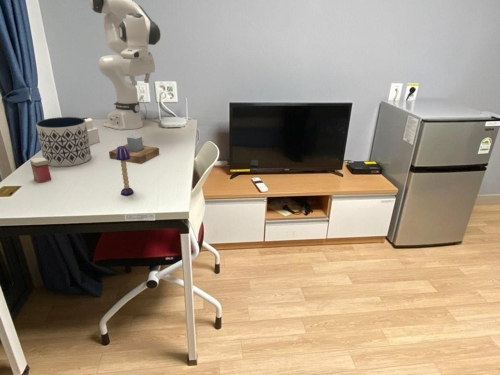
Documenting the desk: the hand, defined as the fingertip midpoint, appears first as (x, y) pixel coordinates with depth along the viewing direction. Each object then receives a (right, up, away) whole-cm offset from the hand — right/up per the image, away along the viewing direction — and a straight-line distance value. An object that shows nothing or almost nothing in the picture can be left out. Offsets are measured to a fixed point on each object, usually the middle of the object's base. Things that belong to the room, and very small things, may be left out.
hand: (140, 84), depth 162 cm
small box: (-25, -46, -35) cm, 63 cm away
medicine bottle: (-28, -27, +8) cm, 40 cm away
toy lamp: (+9, -51, -42) cm, 67 cm away
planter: (-26, -37, -15) cm, 48 cm away
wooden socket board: (0, -35, -8) cm, 36 cm away
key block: (0, -34, -7) cm, 35 cm away
